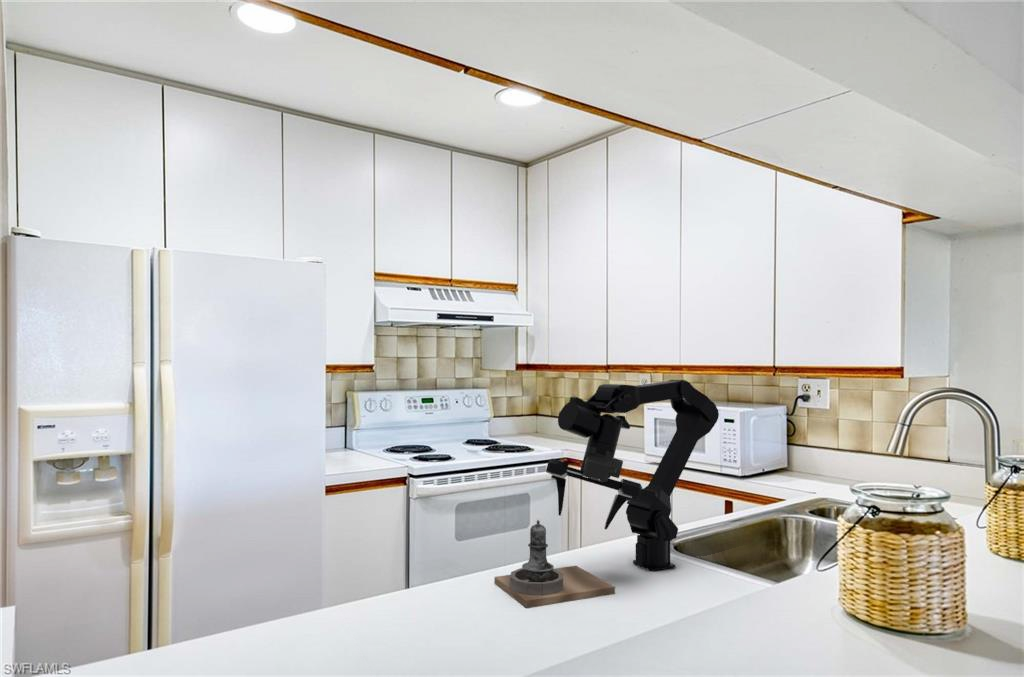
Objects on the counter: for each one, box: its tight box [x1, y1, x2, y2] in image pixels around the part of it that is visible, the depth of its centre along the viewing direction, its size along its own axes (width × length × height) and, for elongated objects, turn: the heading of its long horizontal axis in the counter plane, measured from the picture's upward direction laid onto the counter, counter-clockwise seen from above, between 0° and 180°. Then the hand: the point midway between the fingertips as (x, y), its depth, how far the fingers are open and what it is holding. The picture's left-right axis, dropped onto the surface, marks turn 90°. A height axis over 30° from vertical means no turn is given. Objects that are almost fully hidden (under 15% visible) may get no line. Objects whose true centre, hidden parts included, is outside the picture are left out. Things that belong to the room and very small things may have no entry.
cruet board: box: [494, 565, 616, 609], centre depth 119 cm, size 18×14×3 cm
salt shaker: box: [521, 519, 555, 582], centre depth 117 cm, size 6×6×12 cm
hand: (582, 522), depth 124 cm, fingers open, 9 cm apart
